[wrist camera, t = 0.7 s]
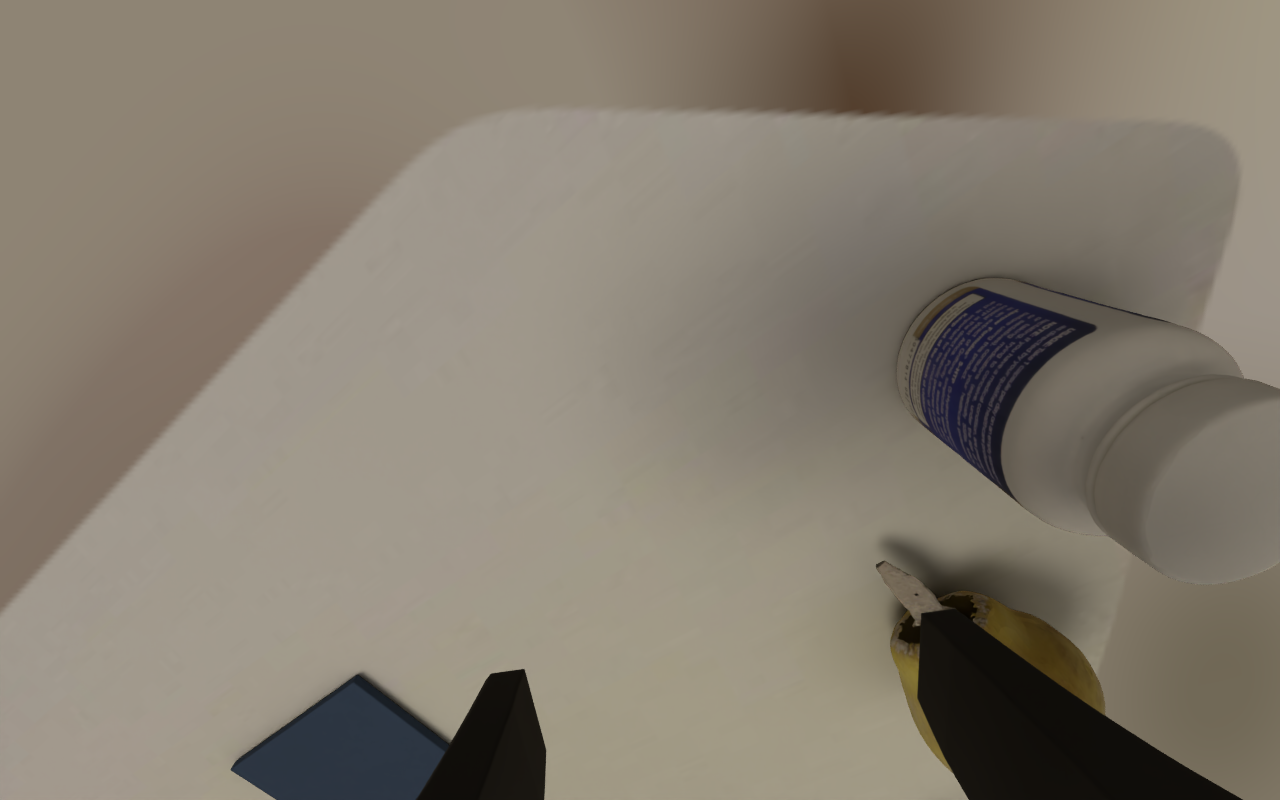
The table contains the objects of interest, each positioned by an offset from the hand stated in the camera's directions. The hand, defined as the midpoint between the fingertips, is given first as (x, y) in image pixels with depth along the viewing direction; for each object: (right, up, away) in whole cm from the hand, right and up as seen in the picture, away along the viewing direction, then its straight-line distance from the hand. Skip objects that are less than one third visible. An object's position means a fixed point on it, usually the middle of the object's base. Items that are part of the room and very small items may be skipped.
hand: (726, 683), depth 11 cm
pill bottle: (+9, +7, +9) cm, 14 cm away
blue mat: (-13, -10, +14) cm, 21 cm away
